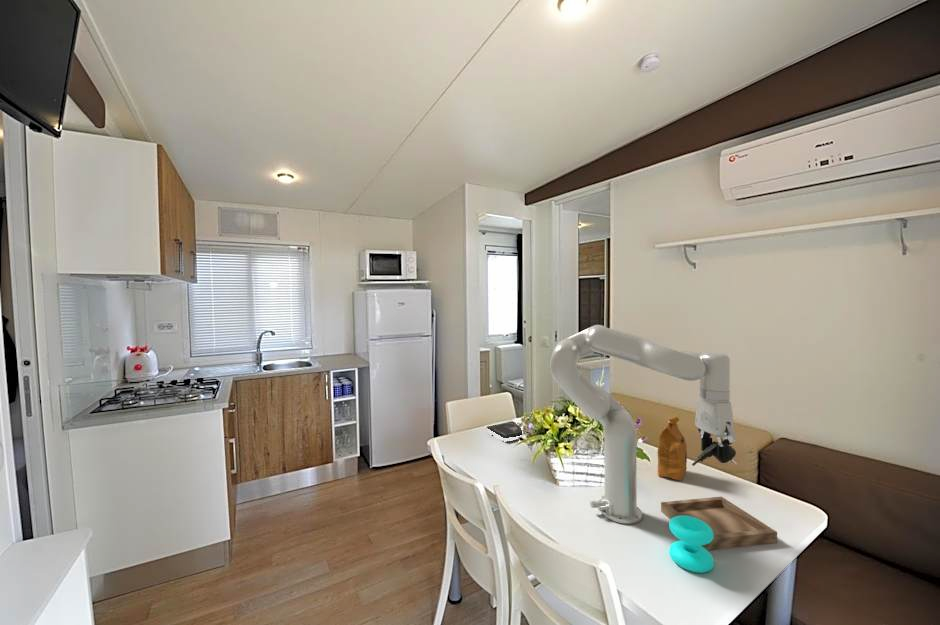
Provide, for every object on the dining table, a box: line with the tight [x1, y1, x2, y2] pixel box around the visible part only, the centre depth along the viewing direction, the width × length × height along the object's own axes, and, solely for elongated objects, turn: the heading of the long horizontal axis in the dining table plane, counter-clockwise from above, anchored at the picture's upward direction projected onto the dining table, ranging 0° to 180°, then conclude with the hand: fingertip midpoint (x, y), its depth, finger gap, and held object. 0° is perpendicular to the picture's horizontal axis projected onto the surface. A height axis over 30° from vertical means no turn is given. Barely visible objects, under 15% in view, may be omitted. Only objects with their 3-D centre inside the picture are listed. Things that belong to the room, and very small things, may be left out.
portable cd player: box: [486, 421, 522, 438], centre depth 195 cm, size 16×17×4 cm
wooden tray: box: [660, 496, 778, 552], centre depth 114 cm, size 22×20×3 cm
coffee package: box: [657, 415, 688, 481], centre depth 147 cm, size 10×12×22 cm
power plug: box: [691, 440, 737, 467], centre depth 114 cm, size 6×8×12 cm
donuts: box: [668, 515, 715, 574], centre depth 98 cm, size 10×10×10 cm
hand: (714, 454), depth 113 cm, fingers closed on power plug, 5 cm apart
